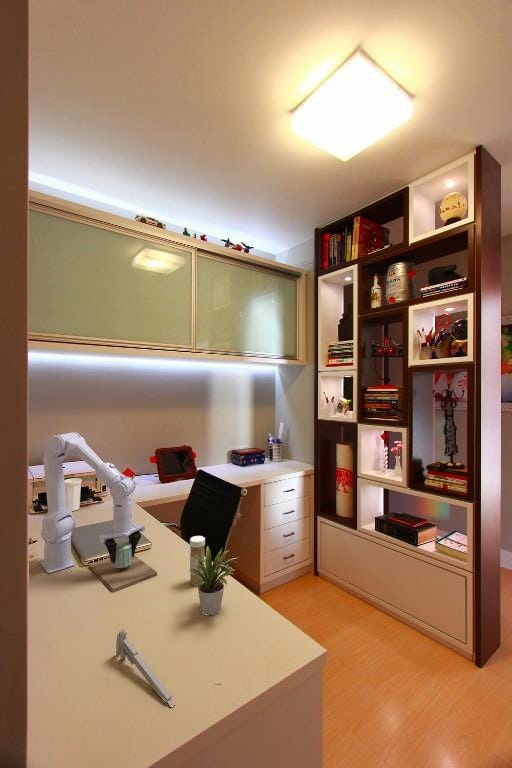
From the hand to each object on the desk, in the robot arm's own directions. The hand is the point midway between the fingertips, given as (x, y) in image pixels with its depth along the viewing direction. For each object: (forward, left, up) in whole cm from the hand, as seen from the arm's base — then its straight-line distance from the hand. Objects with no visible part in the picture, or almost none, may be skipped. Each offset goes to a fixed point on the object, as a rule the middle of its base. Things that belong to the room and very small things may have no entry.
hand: (122, 558), depth 118 cm
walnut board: (0, 0, -4) cm, 4 cm away
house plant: (+37, +8, -4) cm, 38 cm away
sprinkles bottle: (+22, +14, -4) cm, 26 cm away
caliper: (+45, -15, -5) cm, 48 cm away
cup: (-74, +7, -4) cm, 74 cm away
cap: (0, 0, -2) cm, 2 cm away
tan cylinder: (0, 0, -4) cm, 4 cm away
